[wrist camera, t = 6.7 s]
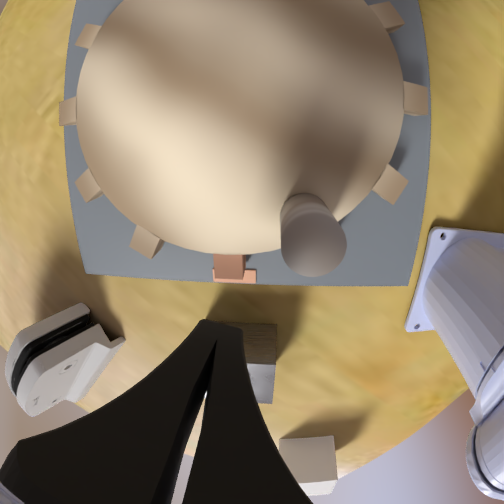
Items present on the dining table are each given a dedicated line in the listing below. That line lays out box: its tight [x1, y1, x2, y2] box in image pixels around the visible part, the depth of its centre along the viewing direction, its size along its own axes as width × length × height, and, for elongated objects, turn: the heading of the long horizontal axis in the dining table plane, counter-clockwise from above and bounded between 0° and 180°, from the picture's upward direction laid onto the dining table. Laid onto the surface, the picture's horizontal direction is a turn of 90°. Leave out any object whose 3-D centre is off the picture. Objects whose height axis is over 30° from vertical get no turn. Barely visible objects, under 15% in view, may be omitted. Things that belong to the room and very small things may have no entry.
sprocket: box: [59, 0, 428, 280], centre depth 9 cm, size 19×19×5 cm
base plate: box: [64, 0, 431, 286], centre depth 12 cm, size 21×21×2 cm
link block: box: [204, 320, 277, 404], centre depth 18 cm, size 5×4×4 cm
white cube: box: [279, 435, 338, 496], centre depth 23 cm, size 6×6×6 cm
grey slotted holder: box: [5, 302, 126, 417], centre depth 19 cm, size 17×5×10 cm, turn 139°
